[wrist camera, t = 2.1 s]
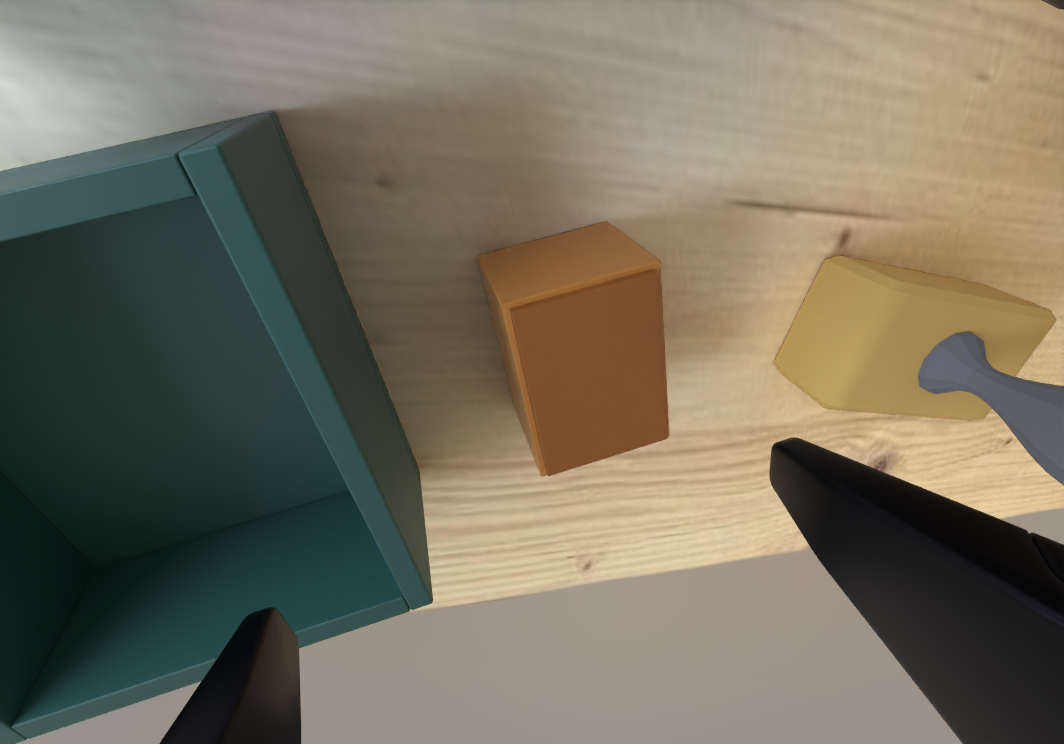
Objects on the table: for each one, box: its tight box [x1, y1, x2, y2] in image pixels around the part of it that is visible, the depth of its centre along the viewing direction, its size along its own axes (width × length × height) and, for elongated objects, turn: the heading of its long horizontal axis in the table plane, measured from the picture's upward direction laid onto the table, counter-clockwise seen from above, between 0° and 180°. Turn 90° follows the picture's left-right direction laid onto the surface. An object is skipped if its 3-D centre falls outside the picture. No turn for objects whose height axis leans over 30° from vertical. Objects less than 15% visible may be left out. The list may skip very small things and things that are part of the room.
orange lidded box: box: [477, 222, 669, 476], centre depth 20 cm, size 5×7×5 cm
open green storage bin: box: [0, 111, 433, 744], centre depth 16 cm, size 14×15×7 cm
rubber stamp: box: [774, 256, 1064, 485], centre depth 21 cm, size 10×6×12 cm, turn 76°
